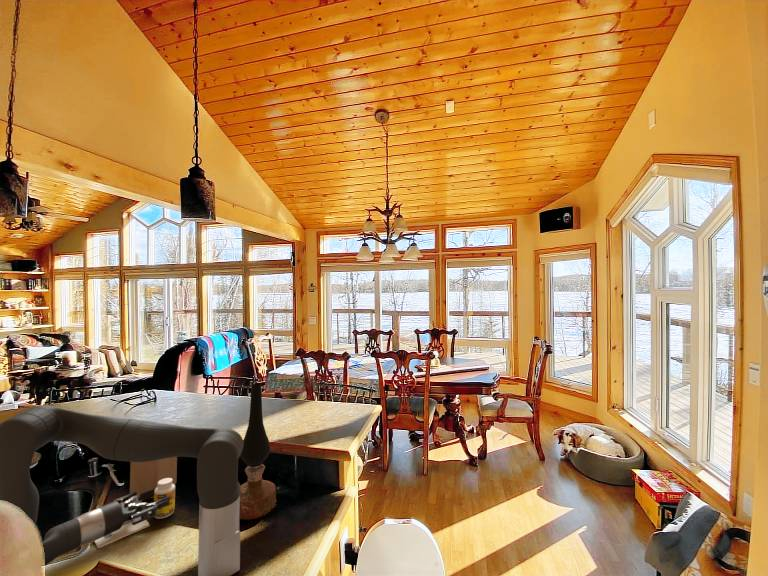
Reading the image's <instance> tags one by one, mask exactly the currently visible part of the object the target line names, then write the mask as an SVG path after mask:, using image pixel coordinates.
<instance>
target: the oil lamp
mask: <svg viewBox="0 0 768 576" xmlns="http://www.w3.org/2000/svg"><path fill="white" fill-rule="evenodd" d="M250 387H251V389H250V405H249V418H248V424H247V428H246V432H245V435H244V438H243V449H242V452H241V454H240V457H239V458H240V459H241V460H242V462H244V464H246V465H247V467H246V468H245V469H244V472H245V474H246V476H247V481H246V482H244V483H242V484H240V514H239V520H246V521H247V520H254V518H255V519H259V518H261V516H262V517H264V516H266V515H268V514H269V513H268V512H270V511H271V509H273V508H274V507H275V508H276V506H277V503H276V502H277V499H276V498H277V495H276V494H277V490H276V489H277V487H276V485H275V483H273V482H272V481H270V480H265V479H263V476H262V475H263V473H264V472H265V469H266V466H265V465H264V461H266V460H267V459H268V457H269V455H270V453H271V444H270V440H269V437H268V435H267V431H266V428H265V424H264V419H263V418H264V416H263V399H262V398H263V396H262V384H261V383H253V384H251V386H250ZM275 503H276V504H275ZM275 505H276V506H275ZM275 508H274V509H275ZM274 509H273V510H274ZM271 512H272V511H271ZM271 512H270V513H271ZM267 513H268V514H267ZM265 514H266V515H265ZM263 515H264V516H263ZM258 517H259V518H258Z"/></svg>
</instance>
